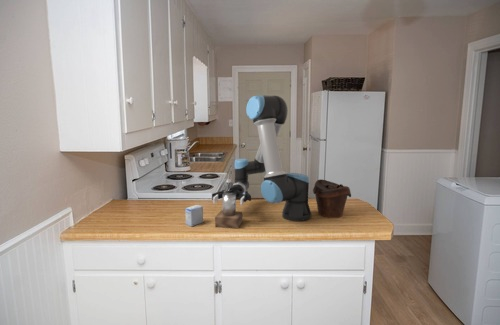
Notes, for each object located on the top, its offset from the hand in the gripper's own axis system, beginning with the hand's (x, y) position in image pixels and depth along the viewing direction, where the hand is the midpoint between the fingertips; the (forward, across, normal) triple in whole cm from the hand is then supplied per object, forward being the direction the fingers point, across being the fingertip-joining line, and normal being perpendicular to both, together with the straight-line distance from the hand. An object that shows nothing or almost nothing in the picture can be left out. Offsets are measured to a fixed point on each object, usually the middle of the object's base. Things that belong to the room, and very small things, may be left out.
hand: (227, 201), depth 166 cm
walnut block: (-3, 0, -12) cm, 13 cm away
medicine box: (0, +17, -13) cm, 21 cm away
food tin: (-3, 0, -8) cm, 8 cm away
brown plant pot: (-29, -50, -13) cm, 59 cm away
